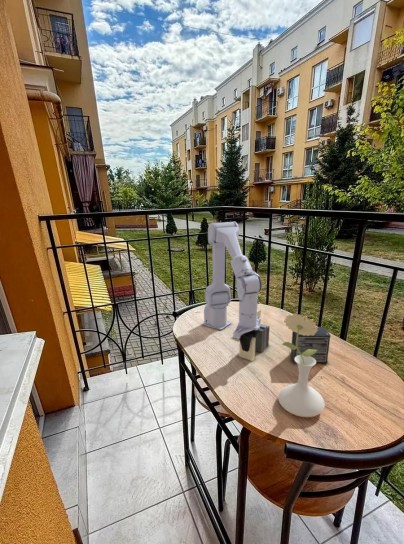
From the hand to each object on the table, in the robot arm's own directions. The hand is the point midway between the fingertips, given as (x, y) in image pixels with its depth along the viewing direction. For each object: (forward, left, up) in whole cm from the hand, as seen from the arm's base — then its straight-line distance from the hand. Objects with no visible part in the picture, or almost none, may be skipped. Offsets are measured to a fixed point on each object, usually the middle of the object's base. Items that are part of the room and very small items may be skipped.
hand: (247, 349), depth 94 cm
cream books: (-9, +21, -3) cm, 23 cm away
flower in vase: (+22, -12, -4) cm, 25 cm away
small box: (+17, +11, -4) cm, 21 cm away
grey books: (0, +9, -3) cm, 9 cm away
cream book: (0, 0, -3) cm, 3 cm away
